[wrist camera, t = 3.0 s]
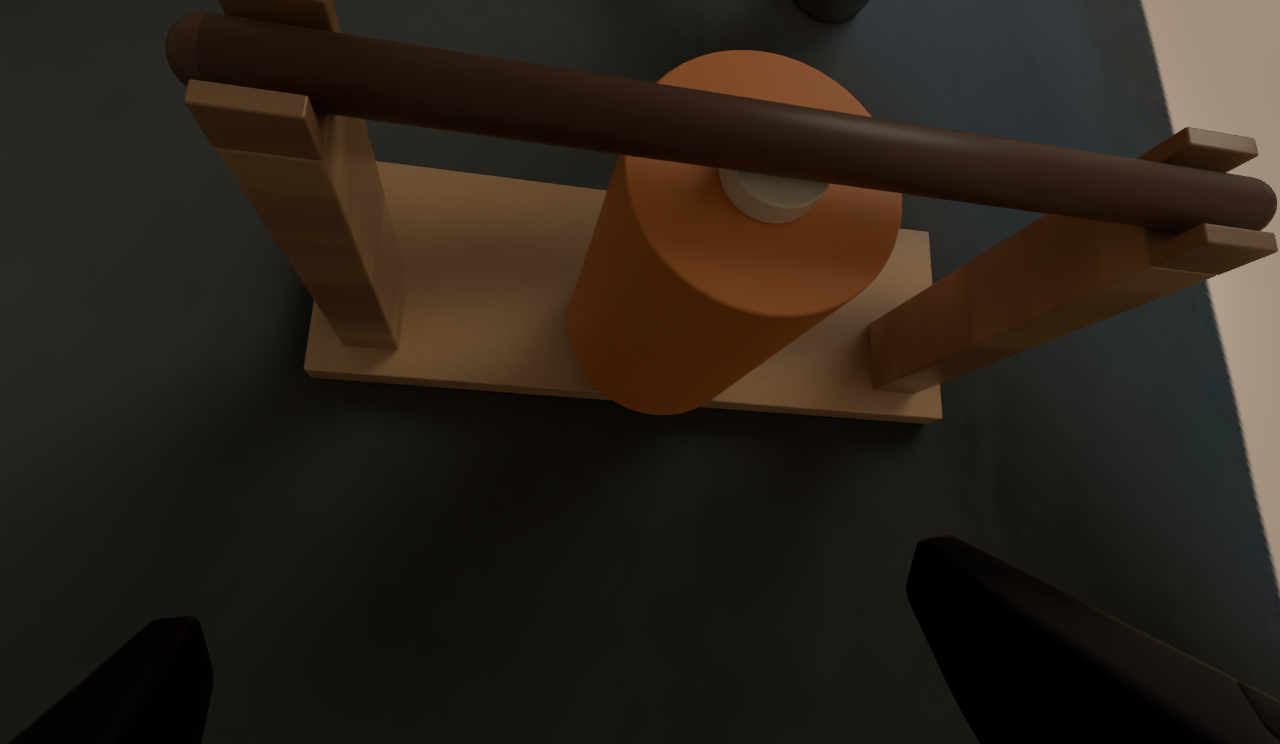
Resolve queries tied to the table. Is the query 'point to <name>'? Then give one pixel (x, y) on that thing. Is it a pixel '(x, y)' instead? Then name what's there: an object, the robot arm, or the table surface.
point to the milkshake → (832, 9)
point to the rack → (560, 236)
